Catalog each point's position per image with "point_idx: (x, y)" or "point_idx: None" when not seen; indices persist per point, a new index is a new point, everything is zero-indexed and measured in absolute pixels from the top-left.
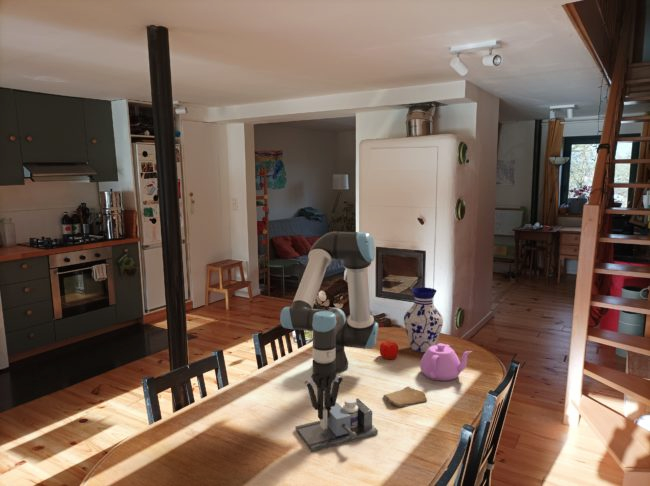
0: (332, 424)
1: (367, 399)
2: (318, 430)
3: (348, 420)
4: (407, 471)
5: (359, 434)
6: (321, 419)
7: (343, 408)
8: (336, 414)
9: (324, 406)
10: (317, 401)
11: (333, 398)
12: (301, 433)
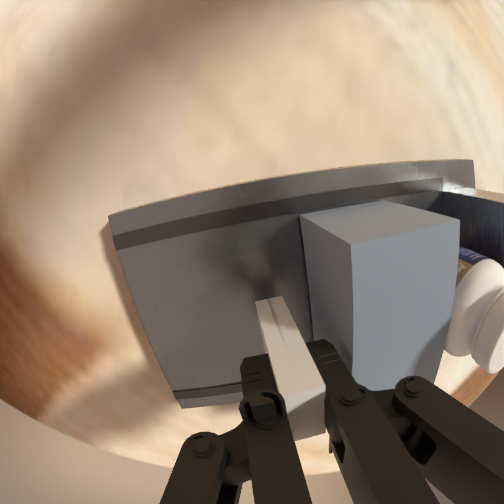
0: None
1: (492, 73)
2: (240, 294)
3: None
4: None
5: None
6: (266, 350)
7: (450, 325)
8: None
9: (350, 260)
10: (252, 478)
11: (424, 477)
12: (136, 302)
